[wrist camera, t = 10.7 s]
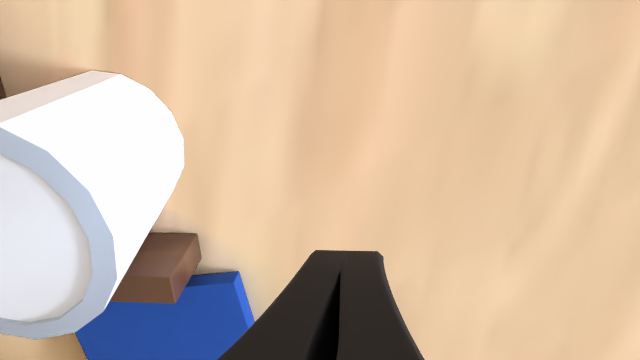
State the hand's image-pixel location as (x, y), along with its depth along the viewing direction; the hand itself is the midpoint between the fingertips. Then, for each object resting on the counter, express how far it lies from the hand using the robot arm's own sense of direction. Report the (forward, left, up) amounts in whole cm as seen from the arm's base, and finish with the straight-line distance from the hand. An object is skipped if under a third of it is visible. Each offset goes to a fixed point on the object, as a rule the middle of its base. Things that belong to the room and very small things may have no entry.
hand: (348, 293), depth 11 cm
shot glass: (+10, 0, -10) cm, 14 cm away
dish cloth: (+9, +10, -9) cm, 16 cm away
